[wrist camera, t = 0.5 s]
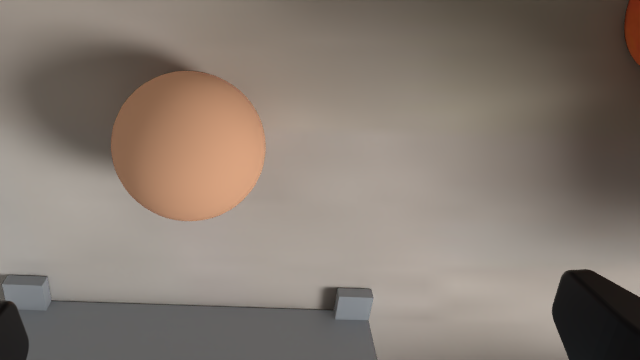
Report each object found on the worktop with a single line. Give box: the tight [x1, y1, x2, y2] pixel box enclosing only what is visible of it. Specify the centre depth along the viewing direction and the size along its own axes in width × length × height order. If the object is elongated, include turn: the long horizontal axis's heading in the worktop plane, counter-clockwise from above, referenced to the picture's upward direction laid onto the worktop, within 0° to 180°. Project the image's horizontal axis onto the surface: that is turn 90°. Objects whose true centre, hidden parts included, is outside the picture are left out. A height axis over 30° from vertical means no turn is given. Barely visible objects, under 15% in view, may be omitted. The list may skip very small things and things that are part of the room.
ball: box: [111, 71, 266, 221], centre depth 18 cm, size 5×5×5 cm
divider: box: [2, 275, 377, 360], centre depth 23 cm, size 16×4×4 cm, turn 83°
